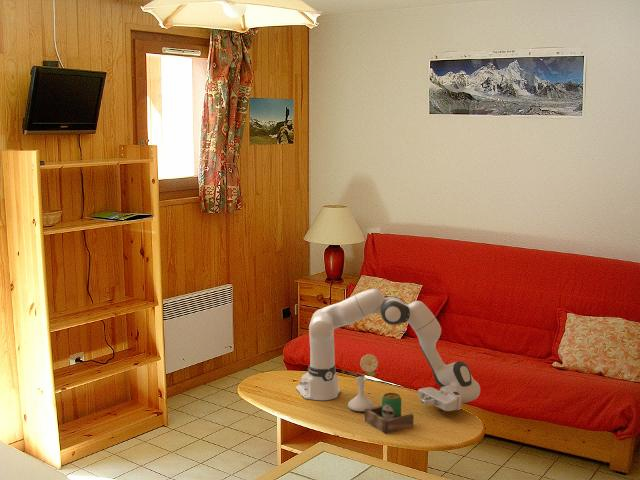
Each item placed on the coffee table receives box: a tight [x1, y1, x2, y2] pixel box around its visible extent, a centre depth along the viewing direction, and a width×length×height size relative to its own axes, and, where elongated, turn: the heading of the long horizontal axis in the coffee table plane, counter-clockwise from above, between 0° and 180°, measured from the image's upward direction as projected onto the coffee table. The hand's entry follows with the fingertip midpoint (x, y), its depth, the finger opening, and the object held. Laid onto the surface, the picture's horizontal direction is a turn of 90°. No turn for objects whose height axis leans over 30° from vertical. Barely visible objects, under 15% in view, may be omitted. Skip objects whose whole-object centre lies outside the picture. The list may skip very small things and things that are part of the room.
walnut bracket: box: [364, 405, 414, 434], centre depth 315 cm, size 15×14×5 cm
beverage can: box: [381, 392, 402, 420], centre depth 315 cm, size 8×8×12 cm
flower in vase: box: [347, 353, 379, 412], centre depth 329 cm, size 13×11×25 cm
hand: (422, 402), depth 323 cm, fingers closed
